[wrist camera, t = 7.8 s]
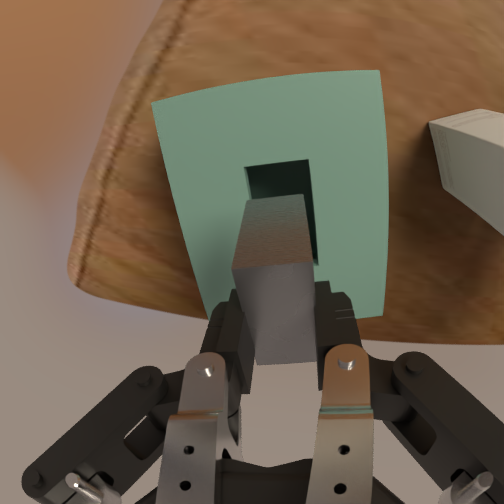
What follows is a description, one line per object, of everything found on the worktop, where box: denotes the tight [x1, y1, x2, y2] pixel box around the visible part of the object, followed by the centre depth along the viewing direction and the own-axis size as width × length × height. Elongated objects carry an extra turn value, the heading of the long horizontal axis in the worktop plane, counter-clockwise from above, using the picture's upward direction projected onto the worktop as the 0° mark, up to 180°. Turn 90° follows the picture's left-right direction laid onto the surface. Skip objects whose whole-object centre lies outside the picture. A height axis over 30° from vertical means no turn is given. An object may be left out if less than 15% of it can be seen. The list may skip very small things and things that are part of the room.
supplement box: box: [429, 109, 504, 236], centre depth 20 cm, size 7×7×13 cm
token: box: [231, 194, 317, 365], centre depth 13 cm, size 2×5×5 cm, turn 10°
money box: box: [151, 70, 389, 321], centre depth 25 cm, size 14×18×10 cm
